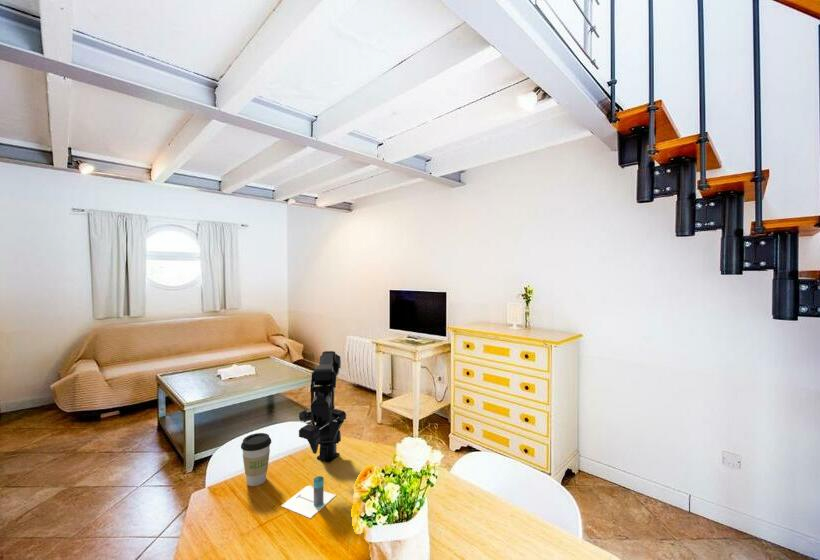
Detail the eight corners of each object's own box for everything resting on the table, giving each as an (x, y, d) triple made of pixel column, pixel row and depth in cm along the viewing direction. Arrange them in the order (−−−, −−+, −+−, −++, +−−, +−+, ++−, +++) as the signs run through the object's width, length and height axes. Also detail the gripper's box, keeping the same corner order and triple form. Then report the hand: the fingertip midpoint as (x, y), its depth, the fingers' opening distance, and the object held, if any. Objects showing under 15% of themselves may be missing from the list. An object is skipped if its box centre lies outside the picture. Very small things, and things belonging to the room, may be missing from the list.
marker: (318, 499, 114) (318, 475, 114) (325, 502, 113) (325, 477, 113) (311, 505, 112) (311, 480, 111) (319, 508, 110) (319, 483, 110)
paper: (307, 485, 122) (307, 485, 122) (335, 495, 117) (335, 495, 117) (280, 506, 111) (280, 505, 111) (310, 518, 106) (310, 517, 106)
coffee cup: (264, 489, 120) (264, 445, 119) (235, 489, 120) (235, 445, 120) (276, 472, 130) (275, 432, 129) (249, 472, 130) (249, 431, 129)
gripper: (323, 391, 136) (323, 430, 137) (286, 409, 120) (286, 454, 121) (346, 396, 131) (346, 437, 132) (311, 415, 115) (312, 462, 116)
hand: (323, 447), depth 125 cm, fingers open, 9 cm apart
